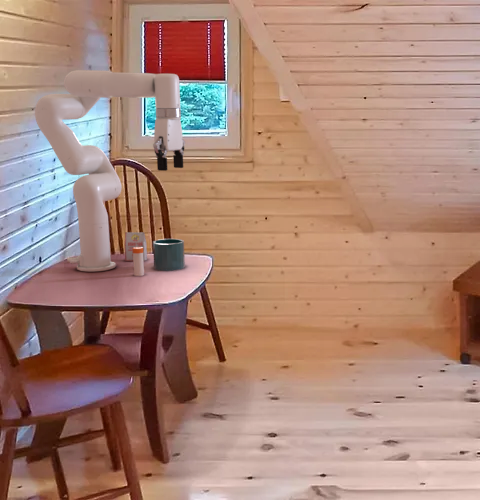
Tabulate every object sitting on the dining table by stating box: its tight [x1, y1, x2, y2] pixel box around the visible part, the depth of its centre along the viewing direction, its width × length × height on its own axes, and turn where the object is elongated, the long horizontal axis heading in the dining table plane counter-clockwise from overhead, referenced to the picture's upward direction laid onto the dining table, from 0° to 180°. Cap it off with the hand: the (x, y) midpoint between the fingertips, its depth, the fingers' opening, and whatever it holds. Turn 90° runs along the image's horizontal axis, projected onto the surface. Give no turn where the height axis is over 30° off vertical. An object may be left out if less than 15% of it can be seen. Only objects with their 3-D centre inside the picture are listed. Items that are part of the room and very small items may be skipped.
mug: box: [152, 238, 186, 272], centre depth 262 cm, size 14×10×9 cm
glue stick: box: [132, 247, 145, 277], centre depth 249 cm, size 3×3×9 cm
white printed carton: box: [124, 231, 148, 262], centre depth 271 cm, size 4×7×10 cm, turn 90°
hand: (170, 169), depth 242 cm, fingers open, 9 cm apart
